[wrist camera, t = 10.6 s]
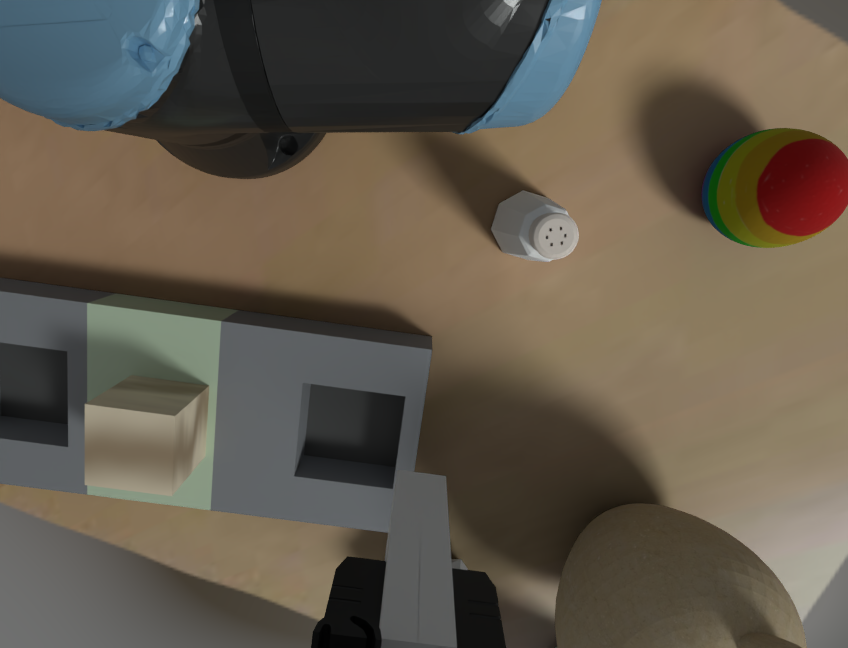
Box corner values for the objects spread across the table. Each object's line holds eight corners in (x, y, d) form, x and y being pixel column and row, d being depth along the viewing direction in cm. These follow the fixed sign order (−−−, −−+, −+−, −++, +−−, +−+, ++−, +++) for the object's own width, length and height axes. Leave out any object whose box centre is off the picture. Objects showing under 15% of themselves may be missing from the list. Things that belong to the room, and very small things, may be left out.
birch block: (131, 375, 43) (84, 404, 37) (209, 385, 43) (175, 416, 37) (129, 446, 44) (84, 484, 38) (205, 456, 44) (171, 496, 39)
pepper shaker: (493, 263, 45) (514, 285, 34) (487, 194, 44) (507, 195, 33) (561, 255, 45) (603, 276, 34) (557, 186, 43) (600, 185, 33)
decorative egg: (767, 254, 44) (862, 271, 35) (671, 227, 44) (740, 237, 34) (810, 150, 43) (923, 138, 33) (709, 121, 42) (794, 100, 32)
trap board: (-21, 274, 45) (-63, 282, 41) (431, 336, 46) (432, 349, 42) (-12, 454, 49) (-50, 477, 45) (406, 508, 50) (404, 534, 46)
